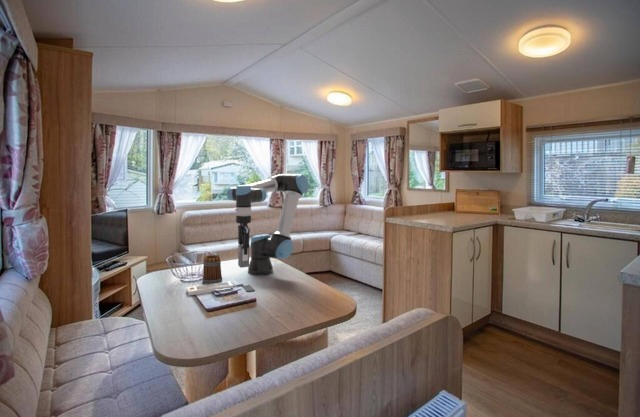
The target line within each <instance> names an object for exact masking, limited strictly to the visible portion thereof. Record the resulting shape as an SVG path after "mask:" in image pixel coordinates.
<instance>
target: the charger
mask: <svg viewBox="0 0 640 417" xmlns="http://www.w3.org/2000/svg"><path fill="white" fill-rule="evenodd" d="M242 248H243V244H241V245H239V244H238V245H237V249H238V250H237V252H238V253H237V254H238V255H237V261H238V262H237V263H238V264H237V265H238V267H239V268H248V267H249V264H250V247H249V248H248V260H247V261H242Z"/></svg>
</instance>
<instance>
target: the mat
mask: <svg viewBox="0 0 640 417" xmlns="http://www.w3.org/2000/svg"><path fill="white" fill-rule="evenodd" d="M241 288H242V289H243V290H245V292H246V293H250V292H252V293H253V292H255V291H256V290H255V289H254V287H252V285H250V284H248V285H246V284H245V285H243V286H241Z"/></svg>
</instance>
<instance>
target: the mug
mask: <svg viewBox="0 0 640 417" xmlns="http://www.w3.org/2000/svg"><path fill="white" fill-rule="evenodd" d="M221 262H222V260H221V257H220V255H219V253H215V254H209V255H206V256H204V258H203V262H202V263H203V274H202V279H201V280H202V284H203V285H207V284H214V283H222V282H223V276H222V265H221Z"/></svg>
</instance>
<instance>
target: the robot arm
mask: <svg viewBox="0 0 640 417" xmlns="http://www.w3.org/2000/svg"><path fill="white" fill-rule="evenodd" d="M308 189H309V180H308V179H307V177H306V175H304V174H299V173H281V174H276V175H273V176H269V177H267V178H266V179H265V180H261V181H257V182H253V183H249V184H246V185H245V184H242V185H241V184H238V185H237V186H236V187H235V186H233V187H229V188H228V189H227V191H226V196H227V199H228V200H230V201H234V202H235V204H236V205H235V207H236V209H234V210H235V212H236V216H235V223H237V224H239V225H237V235H238V236H237V242H238V245H241V244H243V248H242V261H247V260H248V248H249V249H250V260H249V267H247V272H248V274H251V275H257V276H262V275H269V274H272V273H273V271H274V270H273V269H274V268H273V265H272V260H271V258H274V259H281V260H285V259H287V258H289V257H290V256H291V254H292V252H293V250H294V242H293V241H292V237H291V231H292V227H293V222H294V220H295V215H296V210H297V207H298V204H299V200H300V199H301V198H303V194H306V193H307V192H308ZM268 192H270V193H275V192H283V193H284V195H285V196H284V199H283V203H282V207H281V211H280V215H279V219H278V221H277V226H276V229H275V232H273V233H272V235H271V234H269V233H263V234H257V235H252V236H251V237H250V231H251V230H250V228H249V225H248V224H251V222H252V216H251V215H252V204H253V203H254V204H255V203H261V202H264V201H266V199H267V193H268Z"/></svg>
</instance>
